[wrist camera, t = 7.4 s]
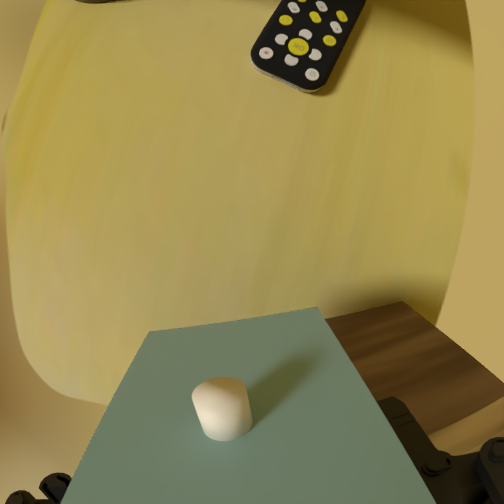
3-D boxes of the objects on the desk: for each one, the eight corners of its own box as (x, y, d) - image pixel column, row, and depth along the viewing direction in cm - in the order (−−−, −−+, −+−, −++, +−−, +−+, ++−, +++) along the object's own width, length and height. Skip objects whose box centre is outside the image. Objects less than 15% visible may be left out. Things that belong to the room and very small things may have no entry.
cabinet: (142, 309, 12) (12, 515, 2) (314, 283, 12) (466, 492, 2) (204, 477, 14) (196, 622, 5) (324, 461, 14) (367, 604, 5)
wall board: (155, 342, 25) (82, 506, 8) (402, 299, 25) (535, 407, 9) (162, 365, 26) (106, 529, 9) (402, 323, 26) (520, 438, 9)
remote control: (364, 0, 20) (372, -10, 18) (315, 101, 22) (321, 94, 20) (304, -29, 19) (308, -40, 17) (243, 68, 21) (243, 58, 19)
